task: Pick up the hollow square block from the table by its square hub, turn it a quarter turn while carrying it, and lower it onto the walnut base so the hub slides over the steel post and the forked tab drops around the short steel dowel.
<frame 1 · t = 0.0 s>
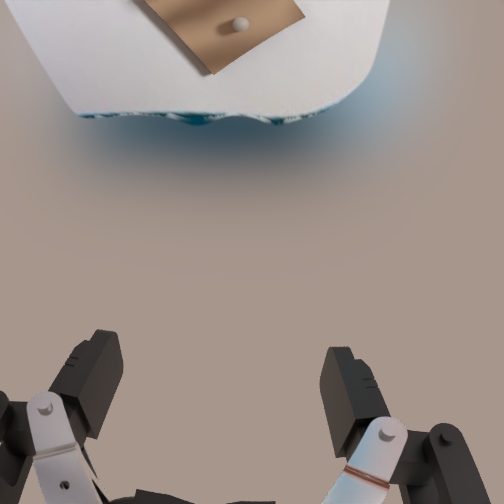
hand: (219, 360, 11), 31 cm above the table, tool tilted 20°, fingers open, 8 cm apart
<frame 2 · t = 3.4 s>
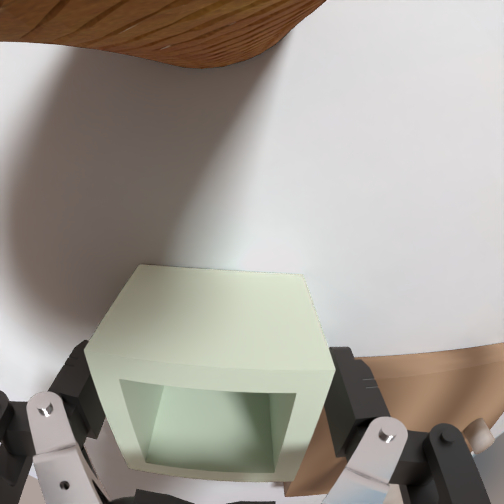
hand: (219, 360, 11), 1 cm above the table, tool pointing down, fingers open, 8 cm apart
post base: (414, 422, 16), on the table
hollow square block: (217, 336, 13), on the table
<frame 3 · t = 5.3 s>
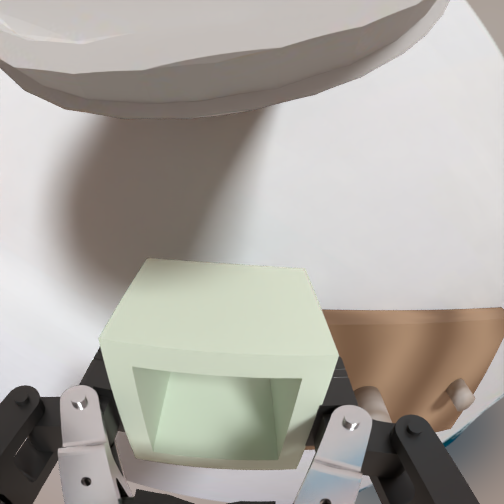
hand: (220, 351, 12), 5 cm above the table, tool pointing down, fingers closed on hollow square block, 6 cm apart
post base: (400, 379, 20), on the table
disposable coffee cup: (232, 35, 12), on the table
hollow square block: (222, 328, 13), point 4 cm above the table, touching gripper
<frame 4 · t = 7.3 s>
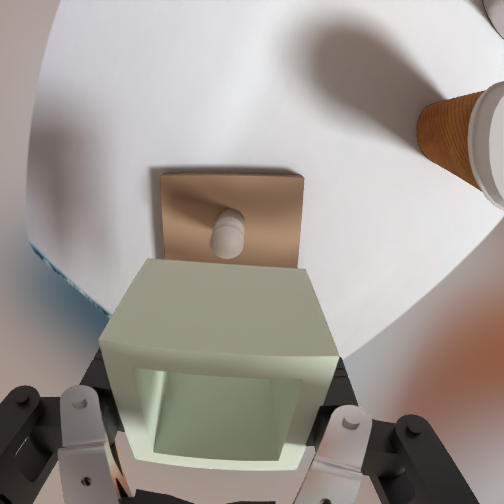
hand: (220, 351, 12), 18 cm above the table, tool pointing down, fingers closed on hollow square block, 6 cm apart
post base: (231, 253, 30), on the table
disposable coffee cup: (441, 133, 25), on the table
hollow square block: (222, 329, 13), point 17 cm above the table, touching gripper
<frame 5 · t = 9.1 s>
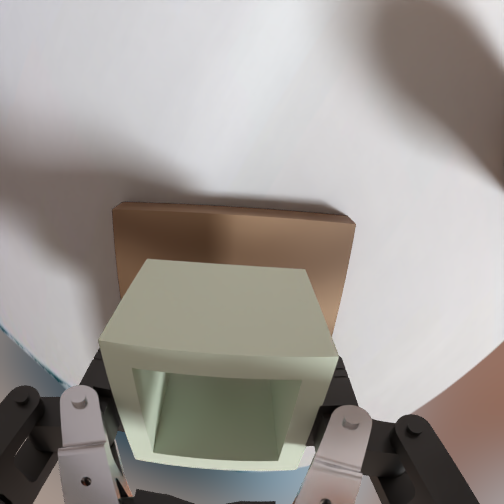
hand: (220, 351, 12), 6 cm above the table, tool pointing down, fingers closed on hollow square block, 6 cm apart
post base: (227, 328, 19), on the table
hollow square block: (222, 329, 13), point 5 cm above the table, touching gripper
when the fingers open (3 cm above the table, at t = 10.7 s): hollow square block stays where it is, resting on post base.
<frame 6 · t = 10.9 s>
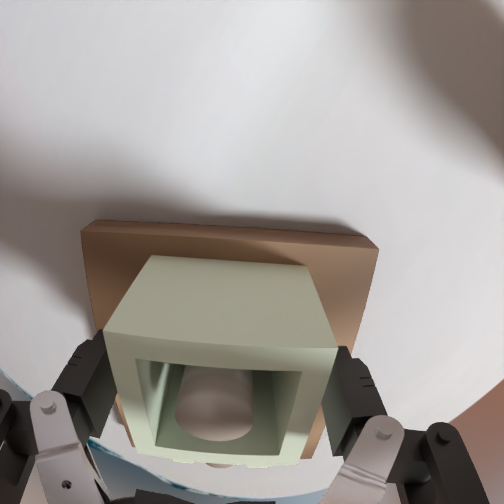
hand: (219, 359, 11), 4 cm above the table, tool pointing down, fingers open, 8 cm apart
post base: (223, 364, 16), on the table
hollow square block: (225, 325, 13), point 1 cm above the table, touching post base
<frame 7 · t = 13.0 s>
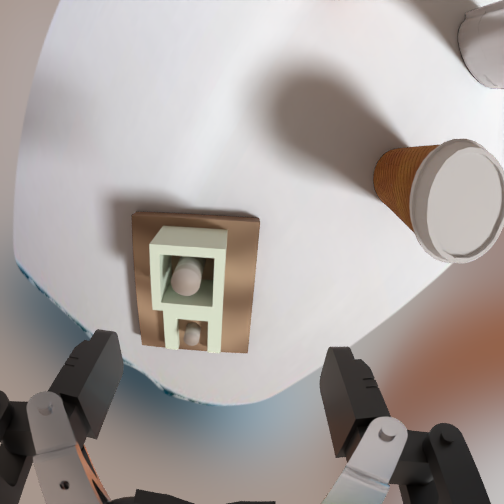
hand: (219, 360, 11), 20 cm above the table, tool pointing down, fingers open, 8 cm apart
post base: (194, 284, 33), on the table
disposable coffee cup: (399, 178, 30), on the table
hollow square block: (194, 257, 30), point 1 cm above the table, touching post base
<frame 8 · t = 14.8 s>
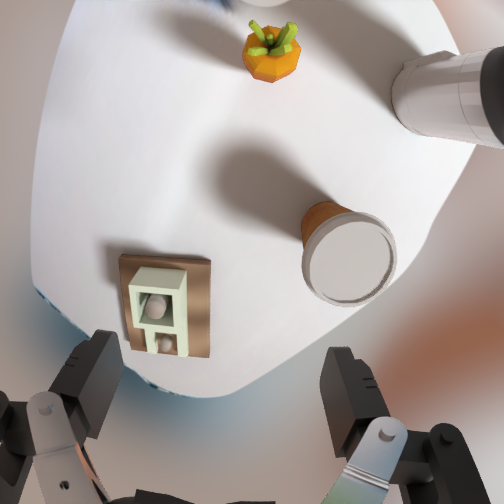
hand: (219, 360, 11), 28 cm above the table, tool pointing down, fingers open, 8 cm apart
carrot: (265, 71, 32), on the table
post base: (167, 306, 43), on the table
disposable coffee cup: (325, 225, 39), on the table
hollow square block: (164, 289, 40), point 1 cm above the table, touching post base
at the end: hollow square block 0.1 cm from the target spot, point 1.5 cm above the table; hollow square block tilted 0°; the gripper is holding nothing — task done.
